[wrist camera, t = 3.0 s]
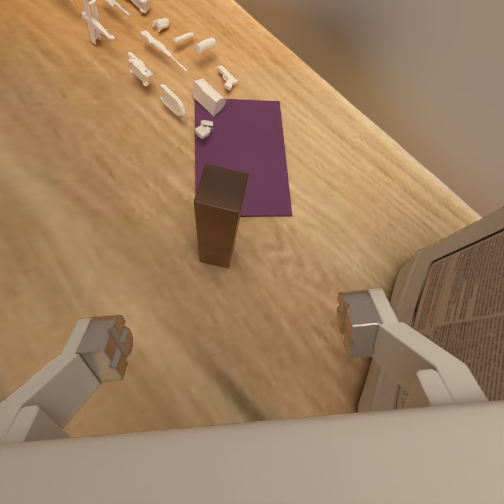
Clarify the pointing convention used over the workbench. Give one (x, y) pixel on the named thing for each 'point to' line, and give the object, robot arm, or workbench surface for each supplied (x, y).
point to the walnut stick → (218, 212)
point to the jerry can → (452, 308)
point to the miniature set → (200, 88)
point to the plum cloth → (248, 152)
